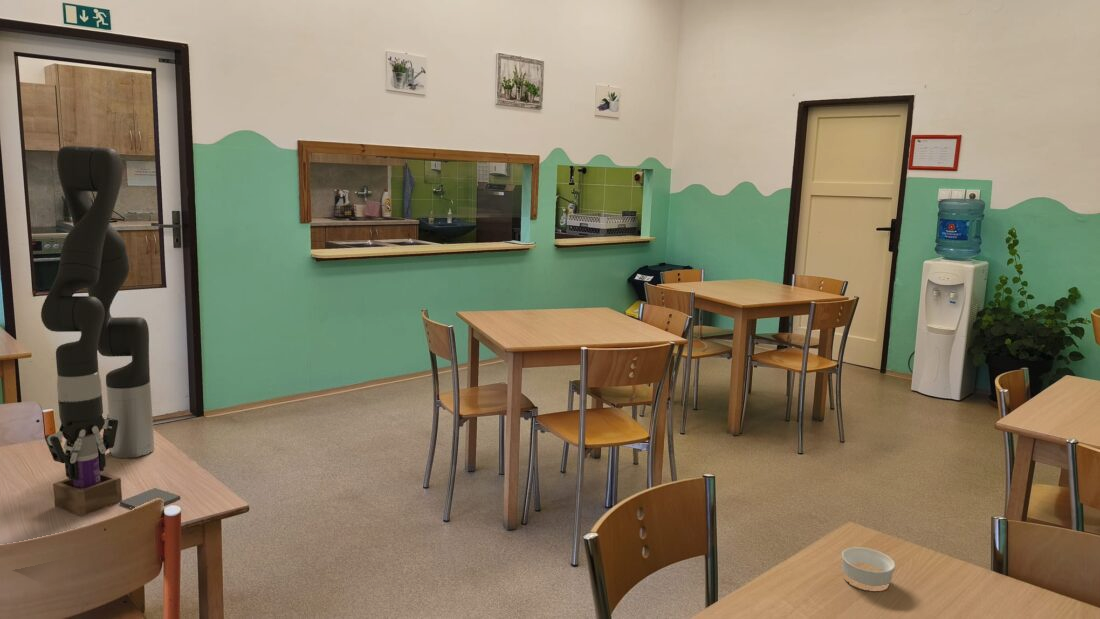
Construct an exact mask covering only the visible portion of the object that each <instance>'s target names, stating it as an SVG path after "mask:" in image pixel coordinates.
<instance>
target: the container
mask: <svg viewBox="0 0 1100 619" xmlns="http://www.w3.org/2000/svg"><path fill="white" fill-rule="evenodd" d="M71 446H72V447H73V446H74V444H71ZM76 462H77V465H78V477H79V478H78V479H77V480H73V481H74V488H77V489H80V490H82V489H85V488H88V487H90V486H93V485H96V484H99V483H101V482H100V468H99V455H98V446H97V441H96V434H89V435H85V436H84V437H83V438H82V445H81V449H80V451H79V452H78V455H77V459H76Z"/></svg>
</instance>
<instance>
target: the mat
mask: <svg viewBox="0 0 1100 619" xmlns="http://www.w3.org/2000/svg"><path fill="white" fill-rule="evenodd" d="M156 498H161V499H163V500H164V505H163V506H166V505H168V504H170V503H173V502H176V501H178V500H180V499H181V495H179V494H175V493H173V492H169V491H166V490H162V489H160V488H156V487H154V488H151V489H148V490H146V491H143V492H140V493H138V494H135V495H133V496H130V497H128V498H126V499H122V501H120V502H119V505H121V506H124V505H125V506H124V507H127V508H130V507H131V508H130V509H133V508H135V507H137V506H140V505H142V504H144V503H146V502H149V501H151V500H153V499H156Z"/></svg>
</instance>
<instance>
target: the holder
mask: <svg viewBox="0 0 1100 619" xmlns="http://www.w3.org/2000/svg"><path fill="white" fill-rule="evenodd" d="M100 482H101V483H99V484H96V485H93V486H90V487H88V488H85V489H82V490H80V489H77V488H74V481H73V480H71V479H69V478H68V477H67V478H66V479H63V480H60V481H59V480H58V481H57V482H56V481H55V482H53V483H52V486H53V487H52V489H53V500H54V501H53V502H54V507H55V508H57V509H59V510H60V509H61V510H62V511H64V512H65V511H66V512H68V513H71V514H73V515H77V516H79V517H83V516H85V515H89V514H91V513H93V511H94V512H97V511H99V510H101V509H105V508H106V506H107V507H109V506H112V505H114V503H115V504H117V503H120V501H122V500H123V497H122V496H123V495H122V493H123V492H122V480H121V477H119V476H116V475H113V474H110V473H105V472H103V471H101V472H100ZM111 504H112V505H111ZM90 512H91V513H90ZM88 513H89V514H88Z"/></svg>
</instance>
